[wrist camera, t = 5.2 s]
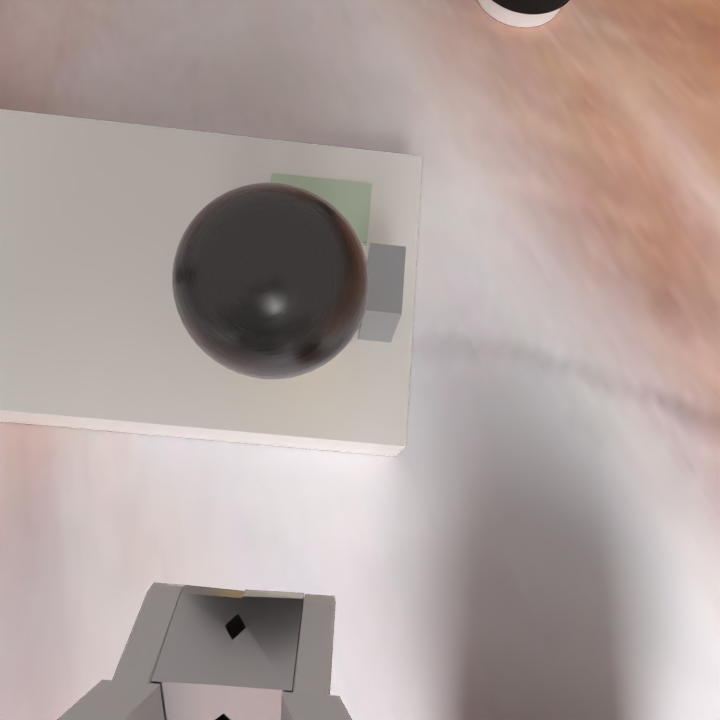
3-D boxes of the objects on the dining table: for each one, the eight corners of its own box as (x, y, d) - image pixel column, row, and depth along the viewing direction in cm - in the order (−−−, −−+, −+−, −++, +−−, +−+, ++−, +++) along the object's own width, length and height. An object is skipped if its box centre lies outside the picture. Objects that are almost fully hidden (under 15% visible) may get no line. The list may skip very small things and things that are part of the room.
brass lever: (349, 354, 21) (363, 399, 9) (254, 345, 21) (134, 378, 9) (358, 260, 21) (386, 171, 8) (263, 250, 21) (152, 145, 8)
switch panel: (395, 456, 23) (420, 433, 18) (-223, 401, 22) (-411, 357, 17) (411, 195, 27) (437, 104, 21) (-124, 137, 26) (-251, 25, 20)
